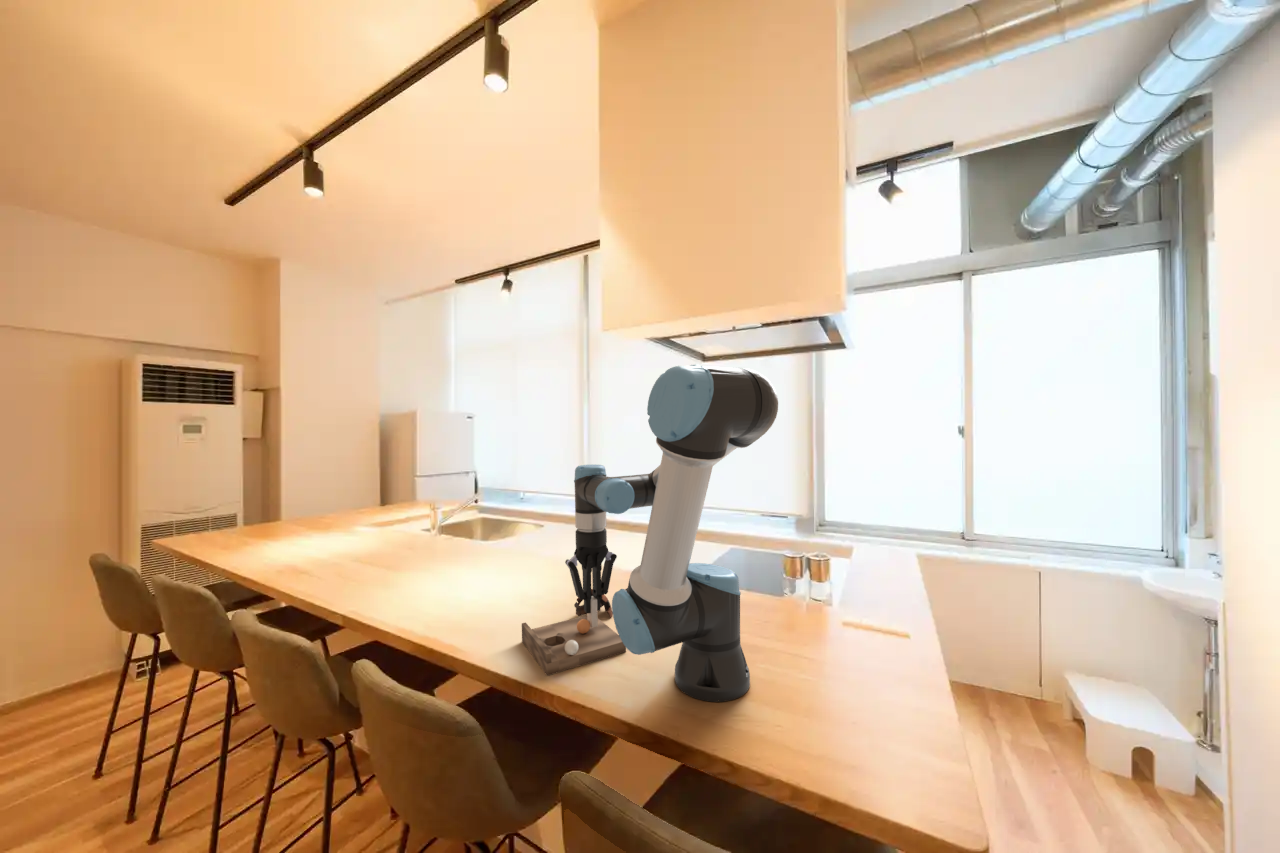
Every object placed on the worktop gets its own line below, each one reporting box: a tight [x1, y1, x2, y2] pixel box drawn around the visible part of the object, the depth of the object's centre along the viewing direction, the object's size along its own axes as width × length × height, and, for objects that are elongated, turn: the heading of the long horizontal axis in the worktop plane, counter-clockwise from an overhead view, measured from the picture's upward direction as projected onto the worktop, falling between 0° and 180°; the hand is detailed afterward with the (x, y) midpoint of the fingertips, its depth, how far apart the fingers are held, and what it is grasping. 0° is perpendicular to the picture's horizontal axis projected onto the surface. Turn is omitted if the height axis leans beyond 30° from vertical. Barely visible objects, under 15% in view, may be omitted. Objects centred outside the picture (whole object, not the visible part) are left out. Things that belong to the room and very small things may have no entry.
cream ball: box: [565, 640, 578, 655], centre depth 102 cm, size 3×3×3 cm
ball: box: [577, 619, 590, 634], centre depth 112 cm, size 3×3×3 cm
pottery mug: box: [574, 588, 613, 619], centre depth 129 cm, size 12×10×8 cm
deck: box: [521, 614, 627, 677], centre depth 111 cm, size 18×19×4 cm
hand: (592, 624), depth 113 cm, fingers closed
